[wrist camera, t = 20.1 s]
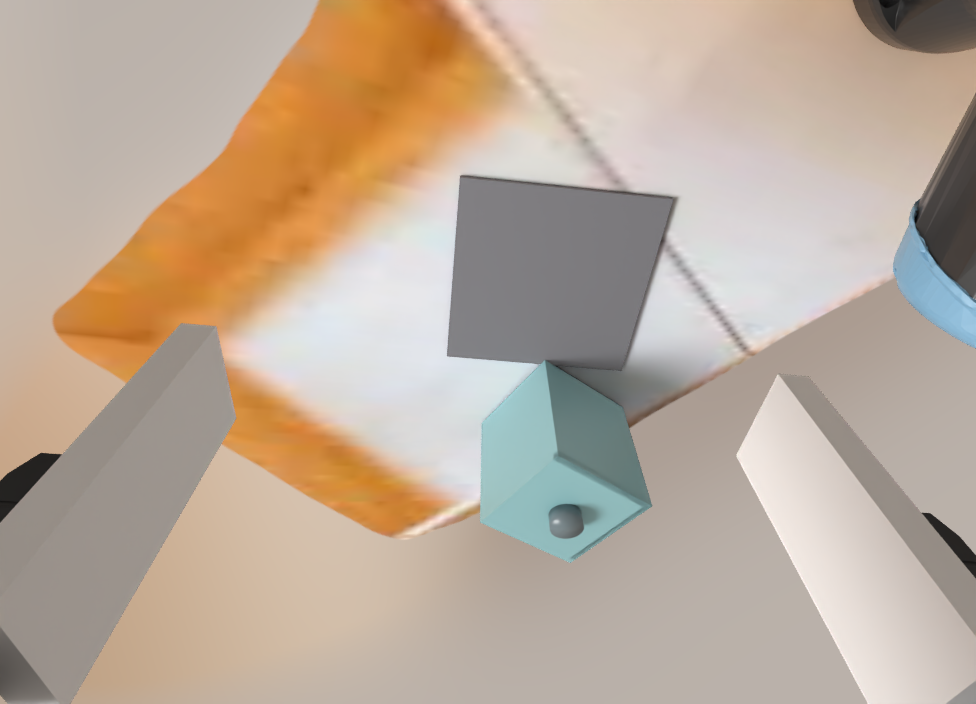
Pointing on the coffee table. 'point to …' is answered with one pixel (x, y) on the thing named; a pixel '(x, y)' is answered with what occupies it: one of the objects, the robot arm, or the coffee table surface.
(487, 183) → the mat
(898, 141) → the coffee table surface
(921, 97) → the coffee table surface
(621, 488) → the teal box with knob
